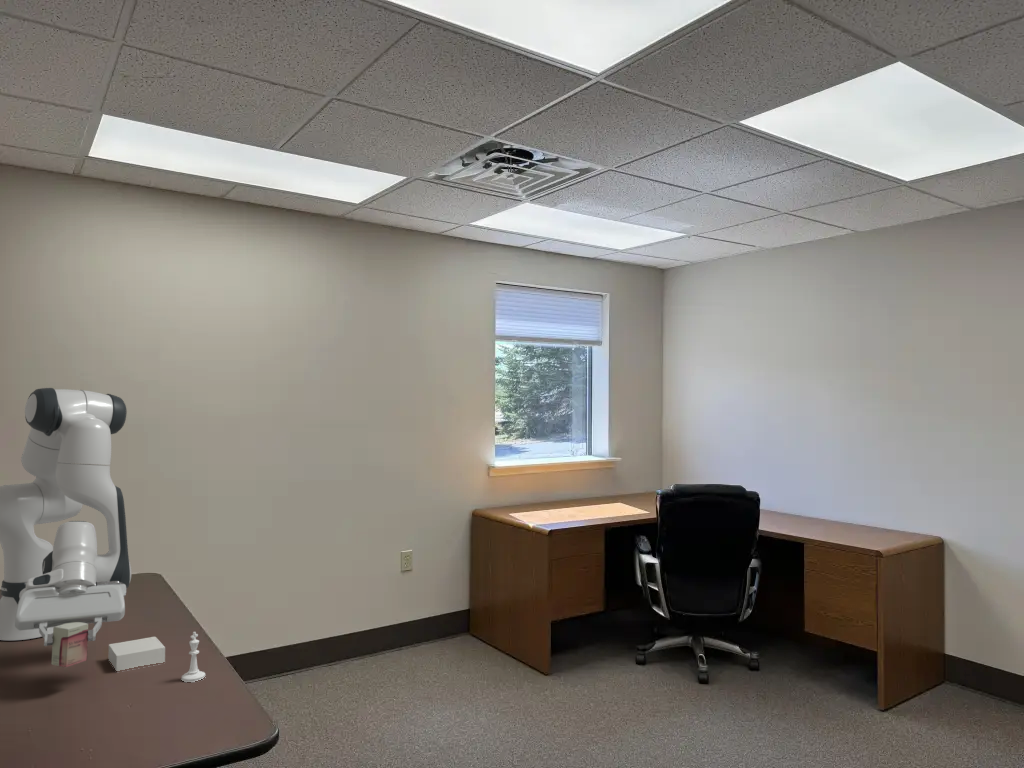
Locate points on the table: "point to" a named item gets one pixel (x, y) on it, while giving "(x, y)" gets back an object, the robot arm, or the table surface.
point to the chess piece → (193, 663)
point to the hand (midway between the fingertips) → (70, 641)
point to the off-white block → (136, 653)
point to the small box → (69, 644)
